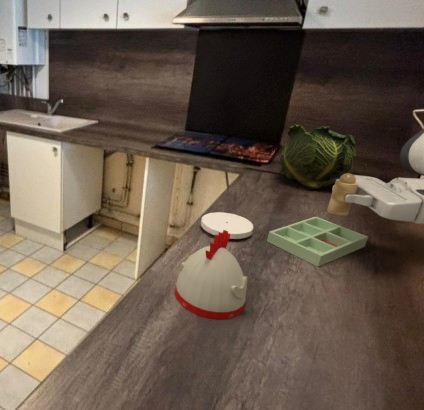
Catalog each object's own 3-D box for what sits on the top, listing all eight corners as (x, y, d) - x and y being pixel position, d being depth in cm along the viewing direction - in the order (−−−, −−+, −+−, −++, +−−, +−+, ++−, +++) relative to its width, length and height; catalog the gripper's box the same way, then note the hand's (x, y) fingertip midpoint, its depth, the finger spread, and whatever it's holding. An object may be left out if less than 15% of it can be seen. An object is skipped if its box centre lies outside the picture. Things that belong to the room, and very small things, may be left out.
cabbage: (322, 194, 147) (348, 140, 142) (350, 203, 124) (382, 139, 118) (260, 174, 151) (283, 121, 146) (276, 179, 128) (305, 116, 123)
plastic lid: (223, 216, 112) (224, 208, 111) (262, 234, 101) (264, 226, 100) (190, 226, 106) (191, 218, 105) (228, 246, 95) (229, 238, 94)
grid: (364, 246, 95) (368, 236, 94) (317, 266, 86) (321, 255, 85) (312, 225, 106) (315, 216, 105) (266, 241, 97) (269, 231, 96)
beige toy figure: (352, 213, 87) (364, 174, 83) (341, 217, 85) (354, 177, 81) (333, 207, 91) (344, 169, 87) (323, 210, 89) (334, 172, 85)
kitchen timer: (255, 297, 75) (270, 234, 69) (224, 329, 67) (238, 261, 61) (196, 270, 85) (205, 212, 79) (162, 295, 76) (169, 233, 70)
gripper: (382, 170, 92) (324, 167, 94) (440, 200, 74) (366, 196, 76) (374, 193, 95) (317, 190, 97) (428, 228, 76) (357, 223, 78)
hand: (339, 193), depth 86 cm, fingers closed on beige toy figure, 4 cm apart
